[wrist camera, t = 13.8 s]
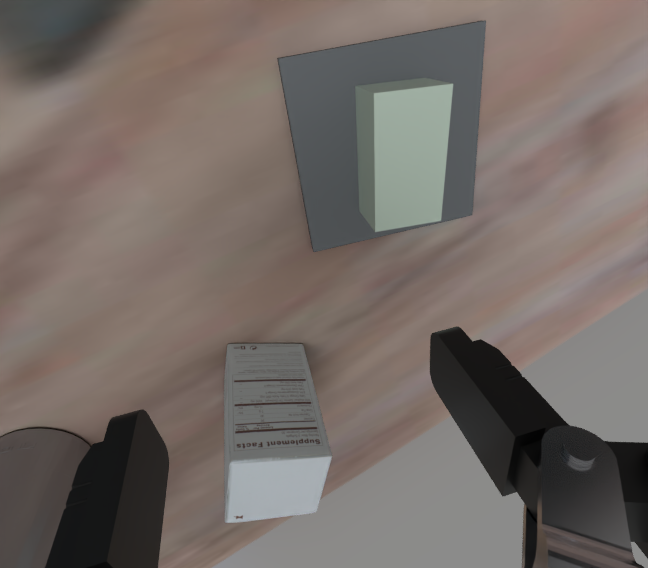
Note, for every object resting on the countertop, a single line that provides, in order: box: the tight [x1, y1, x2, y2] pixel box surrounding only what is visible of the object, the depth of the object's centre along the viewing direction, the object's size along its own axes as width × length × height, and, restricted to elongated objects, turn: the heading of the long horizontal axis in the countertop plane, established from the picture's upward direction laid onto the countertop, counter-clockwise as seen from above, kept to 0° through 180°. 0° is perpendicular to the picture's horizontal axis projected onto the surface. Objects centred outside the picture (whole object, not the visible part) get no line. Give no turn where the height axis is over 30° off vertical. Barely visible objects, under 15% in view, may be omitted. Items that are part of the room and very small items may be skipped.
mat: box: [277, 21, 486, 252], centre depth 29 cm, size 14×14×1 cm
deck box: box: [355, 78, 453, 232], centre depth 28 cm, size 5×9×4 cm, turn 5°
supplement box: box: [224, 343, 332, 523], centre depth 34 cm, size 7×7×13 cm
